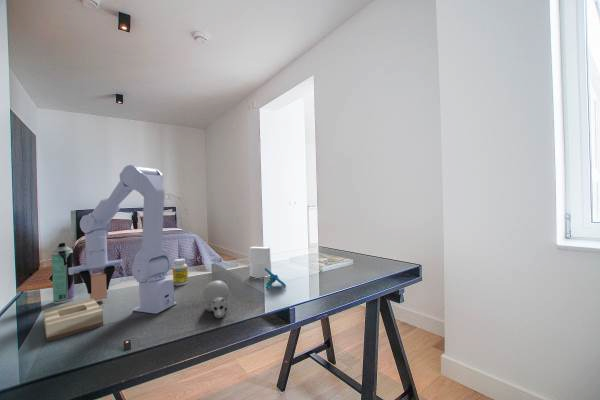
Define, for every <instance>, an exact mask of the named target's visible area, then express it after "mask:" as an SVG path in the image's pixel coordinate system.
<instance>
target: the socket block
mask: <svg viewBox="0 0 600 400" xmlns="http://www.w3.org/2000/svg"><path fill="white" fill-rule="evenodd" d="M42 311H43V326H44V332H45V338H46V342H51V341H54V340H58V339H61V338H65V337H68V336H71V335H74V334H78V333H81V332H85V331H88V330H92V329H95V328H98V327H101V326H104V311H103V309H102V307H101V306H100V305H99V304H98V301H95V300H94V299H90V298H89V299H84V300H81V301H77V302H73V303H68V304H65V305H59V306H56V307H51V308H47V309H43V310H42Z"/></svg>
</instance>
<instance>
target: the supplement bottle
mask: <svg viewBox="0 0 600 400" xmlns="http://www.w3.org/2000/svg"><path fill="white" fill-rule="evenodd" d="M173 263H174V265H173V266H172V277H173V279H172V280H173V281H172V282H173V285H174V286H183V285H186V284H188V282H189V273H188V265H187V264H186V259H185V258H177V259H174V260H173Z"/></svg>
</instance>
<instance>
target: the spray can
mask: <svg viewBox="0 0 600 400" xmlns="http://www.w3.org/2000/svg"><path fill="white" fill-rule="evenodd" d="M51 266H52V267H51V270H52V271H51V272H52V274H51V275H52V299H53V304H55V305H57V304H58V305H59V304H65V303H69V302H72V301H74V300H75V275H74V274H71V275H69V272H68V268H71V267H74V251H73V248H71V247H69V246H68V245H66V242H61V243H58V246H57V247H56V248H54V250H52V251H51Z"/></svg>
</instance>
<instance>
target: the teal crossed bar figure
mask: <svg viewBox="0 0 600 400" xmlns="http://www.w3.org/2000/svg"><path fill="white" fill-rule="evenodd" d="M265 271H266V272H268V273H269V274H270V276H269V277H268V280H267V281H266V283H265V285H266V286H265V289H266V290H269V288H270V287H271V286H272V284H273V283H275V282H276V281H277V282H278V283H279V284H281V285H282V286H283V287H284V288H286V286H287V285H286V283H284V282H283V281H282V280H281V279H279V276H278V275H277V274H274V273H273V272H272V271H271V272H270V271H269V270H268V269H267V268H265Z"/></svg>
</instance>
